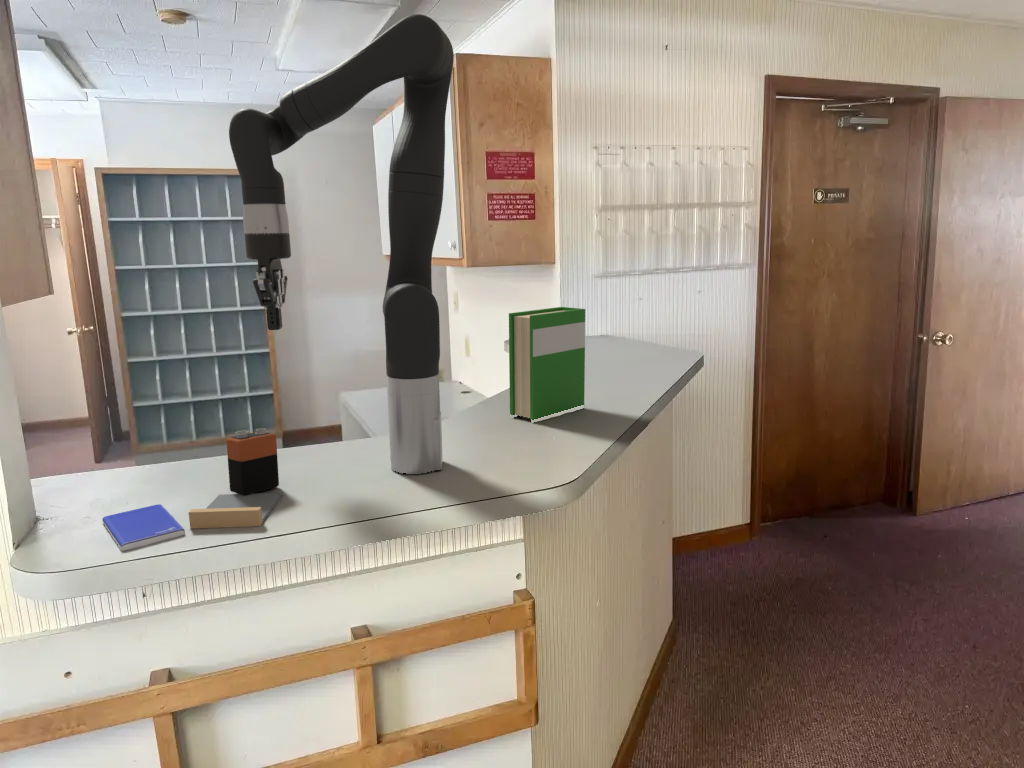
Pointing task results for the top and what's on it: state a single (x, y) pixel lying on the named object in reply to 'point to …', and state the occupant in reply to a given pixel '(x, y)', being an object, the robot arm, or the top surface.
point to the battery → (252, 461)
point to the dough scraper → (234, 511)
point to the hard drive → (142, 526)
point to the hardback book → (546, 361)
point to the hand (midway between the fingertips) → (275, 329)
